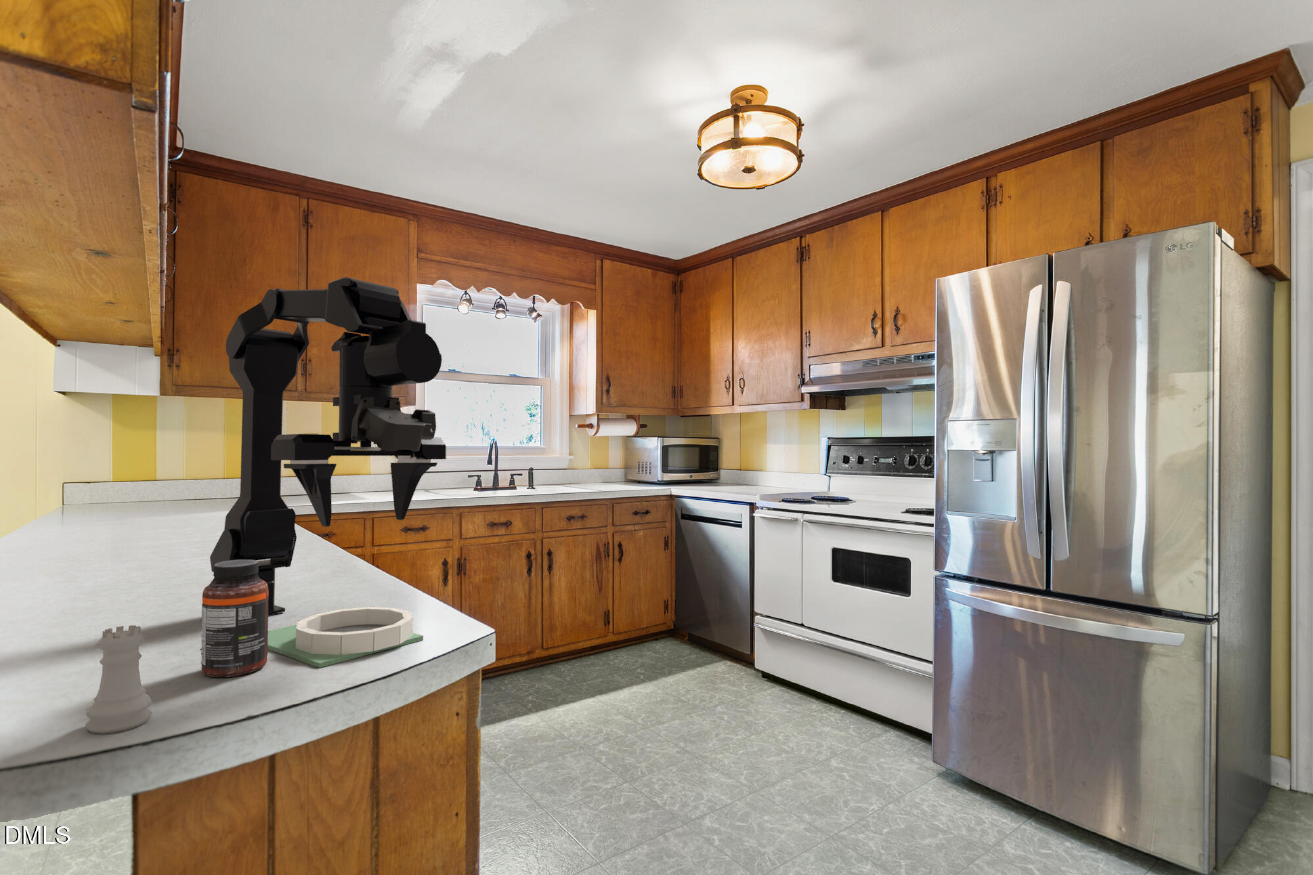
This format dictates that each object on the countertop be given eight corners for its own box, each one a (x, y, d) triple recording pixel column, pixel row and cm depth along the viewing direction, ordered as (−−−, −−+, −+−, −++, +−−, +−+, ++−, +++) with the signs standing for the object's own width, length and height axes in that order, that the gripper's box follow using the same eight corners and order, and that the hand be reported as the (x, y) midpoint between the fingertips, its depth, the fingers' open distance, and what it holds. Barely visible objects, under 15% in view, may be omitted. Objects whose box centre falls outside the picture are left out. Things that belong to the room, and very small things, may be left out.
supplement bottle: (233, 658, 74) (236, 556, 74) (280, 663, 72) (282, 558, 73) (185, 676, 68) (188, 565, 68) (235, 681, 67) (238, 568, 67)
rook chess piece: (114, 738, 54) (117, 638, 54) (69, 732, 55) (72, 634, 55) (165, 716, 58) (168, 624, 58) (123, 711, 59) (126, 620, 59)
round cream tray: (275, 641, 79) (275, 622, 79) (372, 619, 89) (373, 602, 89) (334, 661, 72) (334, 641, 72) (432, 635, 82) (433, 617, 82)
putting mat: (243, 640, 81) (243, 635, 81) (345, 618, 91) (345, 614, 91) (319, 667, 71) (319, 663, 71) (423, 639, 82) (423, 635, 82)
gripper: (324, 376, 65) (322, 535, 65) (475, 391, 81) (475, 520, 80) (269, 383, 72) (267, 528, 71) (419, 396, 87) (418, 515, 87)
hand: (365, 523), depth 77 cm, fingers open, 9 cm apart
